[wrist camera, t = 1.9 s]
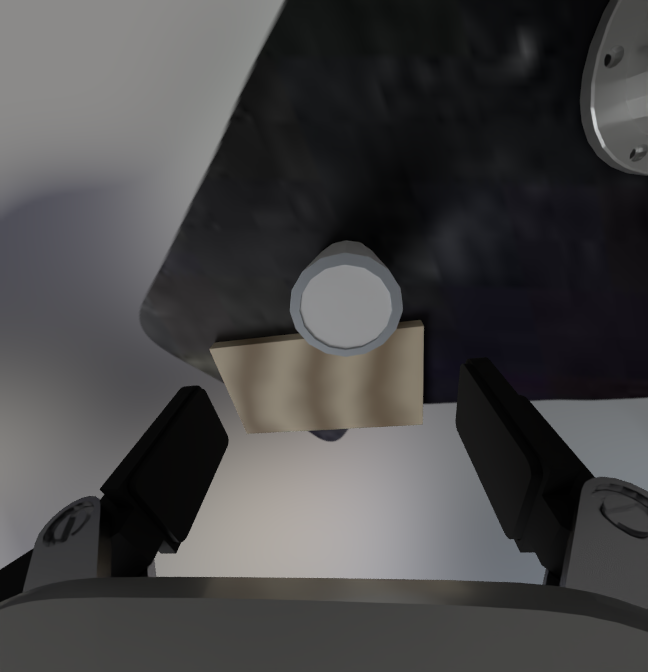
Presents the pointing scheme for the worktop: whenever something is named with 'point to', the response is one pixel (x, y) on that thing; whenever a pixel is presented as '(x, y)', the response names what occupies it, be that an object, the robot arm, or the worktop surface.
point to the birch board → (323, 382)
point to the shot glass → (346, 301)
